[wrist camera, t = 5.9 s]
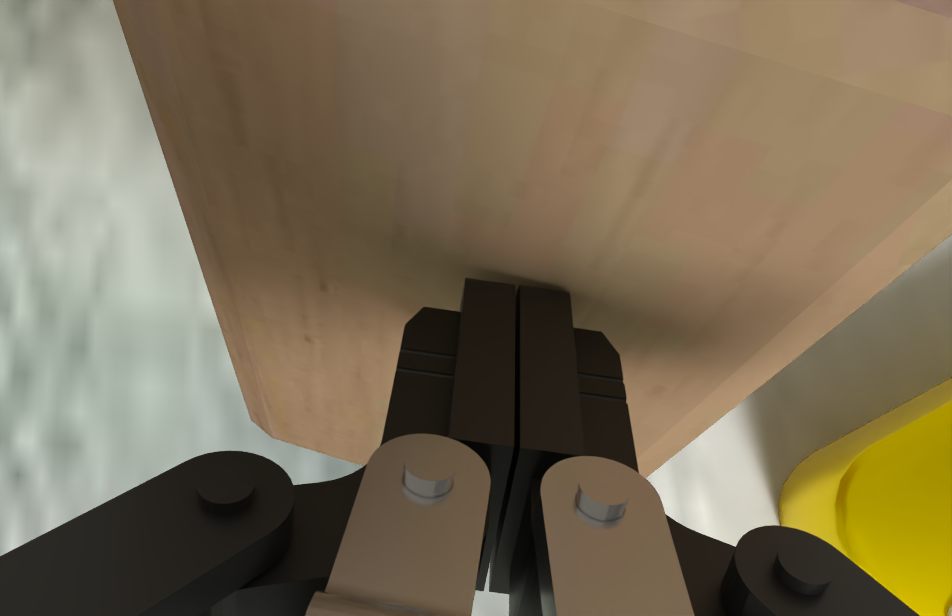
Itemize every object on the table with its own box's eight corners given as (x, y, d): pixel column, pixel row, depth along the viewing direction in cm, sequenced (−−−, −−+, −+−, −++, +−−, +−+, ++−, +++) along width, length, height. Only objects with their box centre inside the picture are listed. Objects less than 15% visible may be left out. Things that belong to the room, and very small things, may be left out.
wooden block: (356, 149, 29) (370, -771, 11) (653, 240, 29) (1149, -530, 11) (240, 437, 25) (-44, -294, 7) (588, 543, 25) (1216, 94, 7)
